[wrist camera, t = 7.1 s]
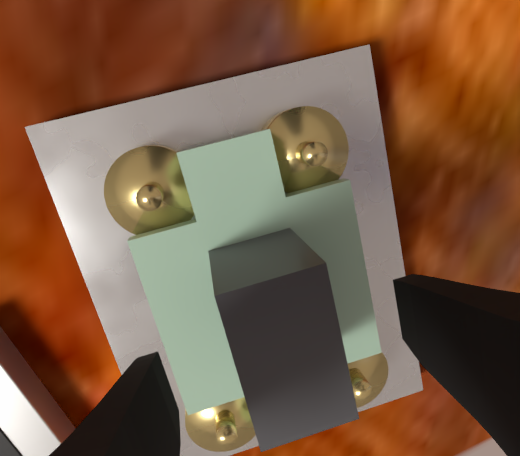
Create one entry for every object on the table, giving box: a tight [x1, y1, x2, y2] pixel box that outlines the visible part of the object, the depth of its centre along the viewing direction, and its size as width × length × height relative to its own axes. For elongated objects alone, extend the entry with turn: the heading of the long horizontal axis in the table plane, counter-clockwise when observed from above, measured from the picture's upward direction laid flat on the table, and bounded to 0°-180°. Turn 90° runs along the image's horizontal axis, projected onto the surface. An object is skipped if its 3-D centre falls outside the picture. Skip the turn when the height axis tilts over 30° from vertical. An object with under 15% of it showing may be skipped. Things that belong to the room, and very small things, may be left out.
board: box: [127, 129, 382, 452], centre depth 13 cm, size 8×12×5 cm, turn 14°
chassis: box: [25, 44, 423, 456], centre depth 16 cm, size 13×16×4 cm
